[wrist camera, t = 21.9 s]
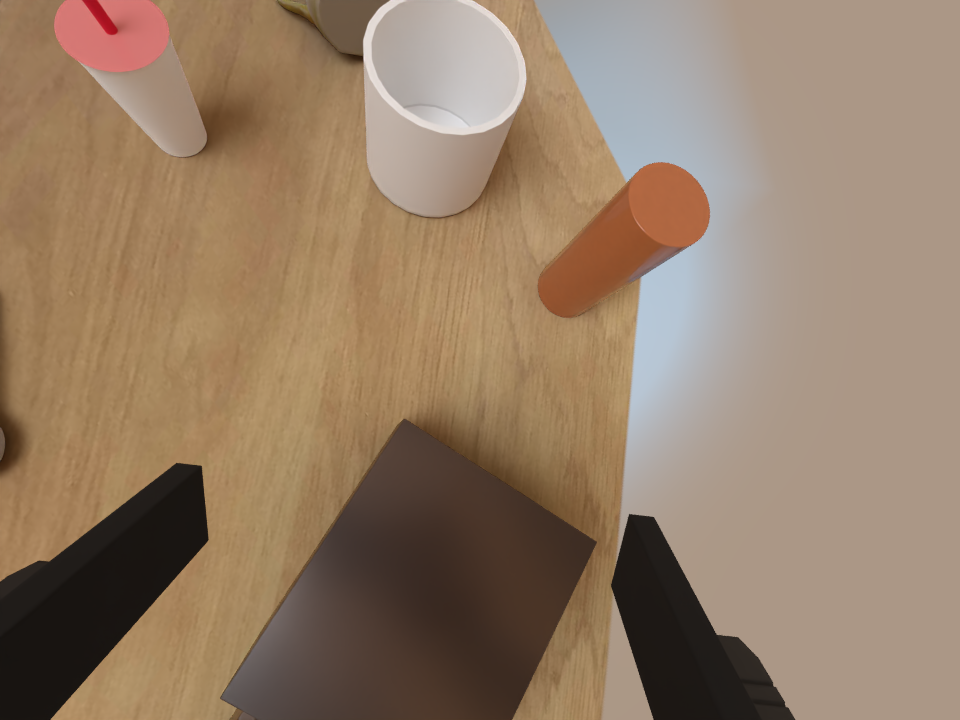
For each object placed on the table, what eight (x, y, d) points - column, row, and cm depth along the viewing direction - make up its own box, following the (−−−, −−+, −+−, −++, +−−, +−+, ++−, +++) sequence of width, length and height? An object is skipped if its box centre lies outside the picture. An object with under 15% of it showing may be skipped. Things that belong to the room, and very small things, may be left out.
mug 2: (483, 228, 37) (523, 150, 27) (359, 207, 35) (353, 114, 25) (492, 97, 39) (531, -18, 30) (376, 70, 37) (377, -63, 28)
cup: (128, 157, 32) (-12, -7, 20) (153, 94, 33) (34, -94, 21) (209, 178, 33) (119, 34, 21) (230, 117, 34) (156, -51, 22)
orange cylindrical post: (603, 298, 38) (726, 221, 25) (560, 328, 37) (665, 263, 23) (570, 251, 38) (674, 147, 25) (526, 279, 37) (611, 185, 24)
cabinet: (438, 735, 30) (459, 830, 22) (259, 633, 28) (219, 699, 21) (549, 520, 34) (597, 542, 27) (397, 423, 33) (404, 418, 25)
